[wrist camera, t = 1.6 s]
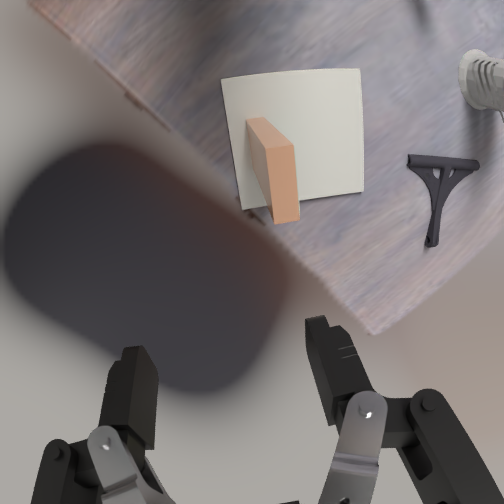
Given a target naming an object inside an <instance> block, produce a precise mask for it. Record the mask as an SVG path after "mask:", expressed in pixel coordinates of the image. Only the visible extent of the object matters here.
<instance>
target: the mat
mask: <svg viewBox="0 0 504 504" xmlns="http://www.w3.org/2000/svg"><path fill="white" fill-rule="evenodd" d="M221 85H222V91H223V97H224V103H225V110H226V116H227V122H228V128H229V134H230V140H231V146H232V152H233V159H234V165H235V171H236V177H237V183H238V189H239V195H240V201H241V207H242V210H245V209H251V208H256V207H262V206H267V204H266V201H265V199H264V196H263V194H262V191H261V189H260V186H259V183H258V181H257V178H256V176H255V173H254V171H253V167H252V160H251V153H250V146H249V139H248V132H247V125H246V119H252V118H259V117H264V118H265V119H266V120H268V121H269V122H270V123H271V124H272V125H273V126H274V127H275V128H276V129H277V130H278V131H280V132H281V133H282V134H283V135H284V136H285V137H286V138H287V139H288V140H289V141H290V142H291V143H292V144H293V145H294V147H295V155H296V167H297V179H298V192H299V201H300V200H306V199H313V198H320V197H327V196H333V195H341V194H348V193H355V192H363V190H364V139H363V110H362V92H361V78H360V69H311V70H294V71H282V72H271V73H262V74H253V75H245V76H238V77H231V78H225V79H221Z"/></svg>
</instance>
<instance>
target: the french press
mask: <svg viewBox="0 0 504 504" xmlns="http://www.w3.org/2000/svg"><path fill="white" fill-rule="evenodd" d="M495 62H496V63H497V65H495V64H494V63H495ZM459 84H460V88H461V92H462V94H463V96H464V98H465V99H466V101H467V103H469V104H470V105H471V106H472V107H473V108H474V109H478V110H484V109H487V108H490V109H493V110H496V111H499V112H500V114H501V117H502V120H503V122H504V118H503V115H502V112H501V111H503V112H504V60H503V59H497V58H491V57H488V56H487V55H486V54H485V53H484V52H482V51H480V50H477V49H474V50H469V51H468V52H467V53H466V54H465V55H464V56H463V57H462V59H461V62H460V65H459ZM500 110H501V111H500Z"/></svg>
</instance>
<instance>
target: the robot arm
mask: <svg viewBox="0 0 504 504" xmlns="http://www.w3.org/2000/svg"><path fill="white" fill-rule="evenodd" d="M305 337H306V350H307V355H308V359H309V362H310V365H311V369H312V372H313V375H314V379H315V382H316V385H317V389H318V392H319V395H320V398H321V402H322V405H323V409H324V412H325V416H326V419H327V422H328V426H331V425H335V424H336V427H337V431H338V434H339V440H338V443H337V447H336V450H335V453H334V457H333V460H332V463H331V466H330V470H329V473H328V476H327V479H326V482H325V485H324V488H323V491H322V494H321V497H320V499H319V503H318V504H370V502H371V499H372V495H373V491H374V487H375V483H376V479H377V475H378V469H379V465H378V459H379V454H380V449H381V448H396V449H397V451H398V453H399V455H400V457H401V459H402V461H403V463H404V465H405V467H406V469H407V471H408V473H409V475H410V477H411V479H412V481H413V484H414V486H415V488H416V489H417V491H418V494H419V496H420V498H421V500H422V502H423V504H504V498H503V496H502V494H501V493H500V491H499V489H498V487H497V485H496V483H495V481H494V479H493V478H492V476H491V474H490V472H489V470H488V469H487V467H486V465H485V463H484V461H483V460H482V458H481V456H480V455H479V453H478V451H477V449H476V448H475V446H474V444H473V443H472V441H471V439H470V438H469V436H468V434H467V433H466V431H465V429H464V428H463V426H462V425H461V423H460V421H459V420H458V418H457V416H456V415H455V414H454V412H453V410H452V409H451V407H450V405H449V404H448V402H447V401H446V399H445V398H444V396H443V395H442V394H441V393H440V392H438V391H436V390H434V389H423V390H420V391H418V392H417V393H416V394H415V395H414V396H413V397H412V398H386V397H384V396H382V395H380V394H378V393H377V392H376V391H375V390H374V389H373V388H372V386H371V383H370V381H369V379H368V376H367V374H366V372H365V369H364V367H363V365H362V362H361V360H360V358H359V356H358V354H357V351H356V348H355V347H354V344H353V342H352V340H351V337H350V335H349V334H348V333H347V331H345V330H344V329H343V328H342V327H341V326H340V325H339V326H334V327H329V324H328V322H327V319H326V317H325V316H324V315H321V316H316V317H312V318H307V319H305ZM158 381H159V379H158V372H157V369H156V367H155V365H154V363H153V362H152V360H151V358H150V356H149V355H148V353H147V351H146V350H145V348H144V347H143V346H142V345H141V346H132V347H125V348H124V349H123V353H122V357H121V360H120V361H115V362H114V364H113V365H112V367H111V369H110V370H109V373H108V378H107V384H106V387H105V393H104V398H103V403H102V409H101V414H100V420H99V425H98V427H97V428H96V429H94V430H93V431H92V432H91V433H90V435H89V437H88V439H85V440H83V441H79V442H75V443H71V444H68V443H67V442H65V441H64V440H61V439H55V440H52V441H51V442H49V443H48V444H47V446H46V447H45V450H44V453H43V456H42V460H41V463H40V467H39V471H38V475H37V479H36V483H35V487H34V492H33V496H32V500H31V504H176V503H175V502H174V501H173V500H172V499H171V498H170V497H169V495H168V494H167V492H166V491H165V489H164V487H163V486H162V484H161V482H160V480H159V479H158V477H157V475H156V473H155V471H154V470H153V468H152V466H151V464H150V462H149V460H148V459H147V458H146V456H145V450H154V440H155V422H156V407H157V394H158ZM281 504H299V501H293V502H287V503H281Z"/></svg>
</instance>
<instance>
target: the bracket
mask: <svg viewBox="0 0 504 504" xmlns="http://www.w3.org/2000/svg"><path fill="white" fill-rule="evenodd" d="M408 157H409V158H410V163H409V164H407V166H409V168H410V169H411V170H413V171H414V172H416V173H417V174H418V175H420V176H421V178H422V179H423V180H424V181H425V183H426V185H427V186H428V188H429V191H430V195H431V201H432V210H433V211H432V215H431V219H430V224H429V228H428V232H427V236H426V239H425V245H426V246H427V247H436V246H437V245H438V242H439V229H440V219H441V213H442V208H443V206H444V203H445V201H446V199H447V197H448V196H449V194H450V192H451V191H452V189H453V188H454V187H455V186H456V185H457V184H458V183H459V182H460V181H461V180H462V179H463V178H464V177H466V176H467V175H469V174H471V173H473V171H474V170H479V168H480V164H479V162H478V161H476V160H468V159H459V158H449V157H438V156H425V155H410V154H408ZM433 167H436V168H440V176H439V179H437V178H436V177H435V176H434V174H433ZM451 169H455V170H454V173H453V175H452V176H451V177H450V178H449V175H450V172H451ZM428 238H429V240H428ZM429 241H430V242H429Z"/></svg>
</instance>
